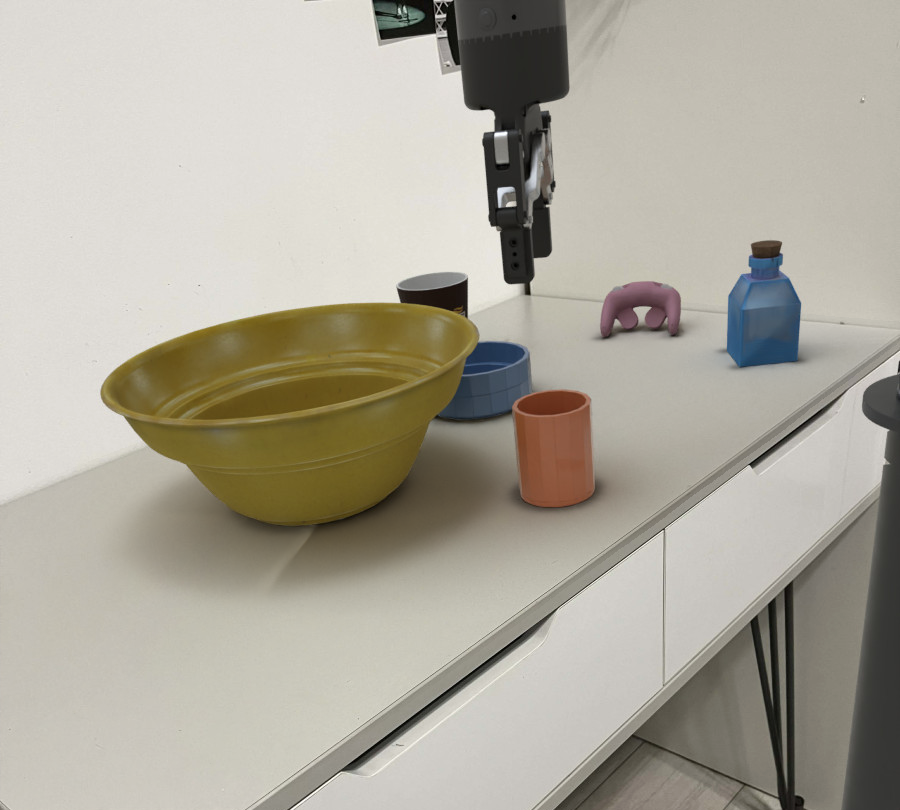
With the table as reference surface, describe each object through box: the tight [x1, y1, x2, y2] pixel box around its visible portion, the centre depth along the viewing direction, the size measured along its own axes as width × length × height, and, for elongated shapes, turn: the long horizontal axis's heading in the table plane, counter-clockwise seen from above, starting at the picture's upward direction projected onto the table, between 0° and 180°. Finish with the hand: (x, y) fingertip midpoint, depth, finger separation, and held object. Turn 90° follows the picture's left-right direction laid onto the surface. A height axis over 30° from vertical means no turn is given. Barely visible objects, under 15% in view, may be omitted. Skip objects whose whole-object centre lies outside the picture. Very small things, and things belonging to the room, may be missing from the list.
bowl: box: [436, 340, 534, 421], centre depth 103 cm, size 12×12×5 cm
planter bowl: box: [99, 302, 480, 527], centre depth 85 cm, size 32×32×13 cm
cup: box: [511, 388, 596, 508], centre depth 80 cm, size 6×6×8 cm
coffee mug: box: [395, 271, 469, 319], centre depth 116 cm, size 12×9×10 cm
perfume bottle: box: [726, 239, 802, 368], centre depth 103 cm, size 6×6×12 cm
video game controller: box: [599, 280, 682, 338], centre depth 119 cm, size 10×5×7 cm, turn 72°
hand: (529, 269), depth 74 cm, fingers open, 8 cm apart
